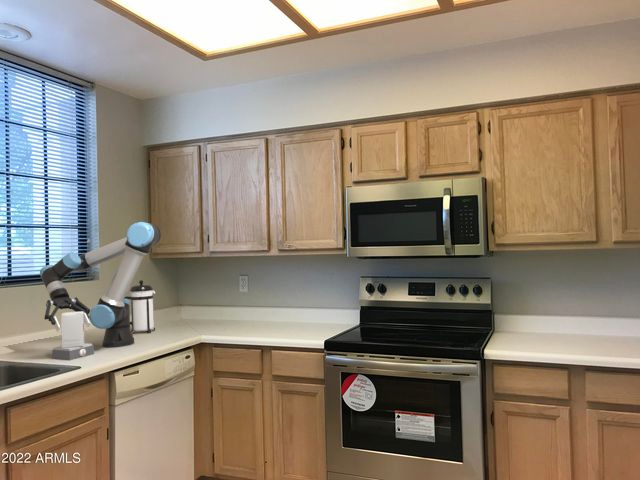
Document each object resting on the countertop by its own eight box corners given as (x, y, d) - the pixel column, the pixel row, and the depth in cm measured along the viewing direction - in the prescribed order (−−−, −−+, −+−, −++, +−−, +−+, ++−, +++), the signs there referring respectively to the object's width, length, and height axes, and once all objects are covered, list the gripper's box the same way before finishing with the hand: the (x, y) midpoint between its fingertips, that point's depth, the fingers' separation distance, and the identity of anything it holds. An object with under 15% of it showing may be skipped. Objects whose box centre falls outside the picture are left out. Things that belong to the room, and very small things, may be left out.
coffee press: (148, 329, 307) (146, 279, 307) (161, 331, 296) (159, 279, 296) (119, 333, 295) (117, 281, 295) (132, 336, 284) (130, 281, 284)
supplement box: (83, 346, 231) (82, 312, 231) (61, 348, 228) (60, 314, 228) (85, 343, 240) (84, 310, 240) (63, 345, 236) (62, 312, 237)
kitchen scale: (76, 352, 242) (76, 342, 242) (95, 354, 237) (94, 343, 237) (52, 358, 230) (51, 348, 230) (71, 360, 225) (70, 349, 225)
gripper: (81, 295, 253) (97, 328, 244) (27, 301, 234) (42, 336, 224) (86, 285, 250) (103, 318, 240) (32, 289, 231) (47, 325, 221)
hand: (74, 327), depth 232 cm, fingers open, 13 cm apart
